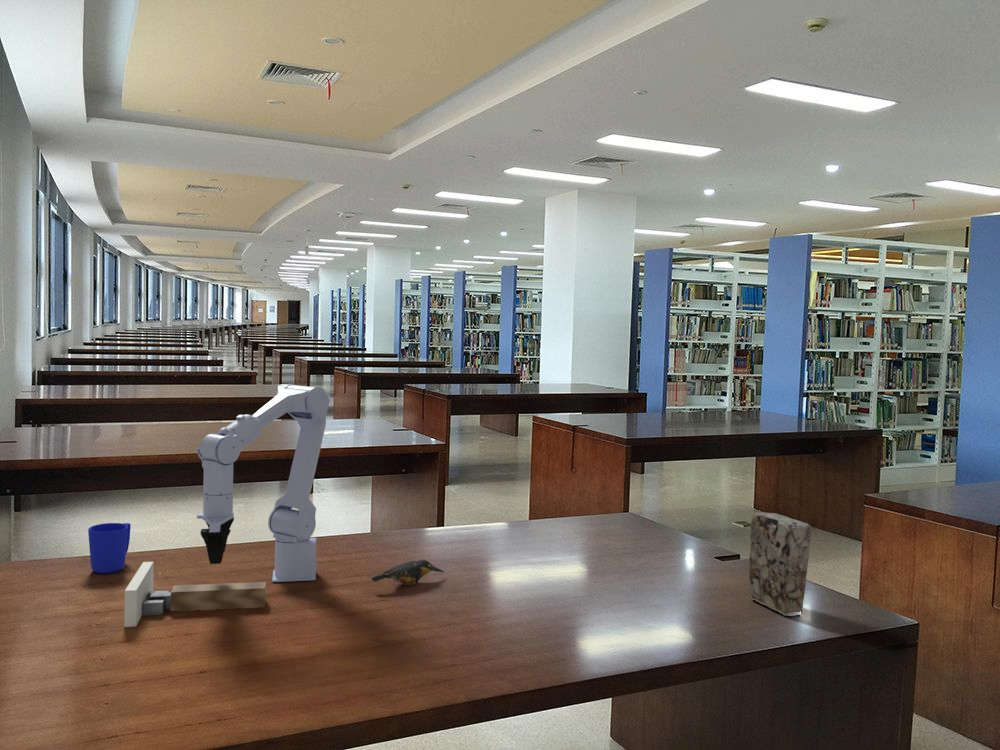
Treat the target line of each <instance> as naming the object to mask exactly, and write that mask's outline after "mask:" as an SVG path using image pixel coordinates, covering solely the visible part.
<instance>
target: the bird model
mask: <svg viewBox="0 0 1000 750" xmlns="http://www.w3.org/2000/svg"><path fill="white" fill-rule="evenodd" d="M431 572H439V573H445V571H444V570H442V569H440V568H439V567H436V566H434V565H433V563H431V562H430V561H428V560H426V559H420V560H412V561H408V562H404V563H401V564H399V565H396V566H394V567H391V568H389V569H387V570H385V571H383V573H379V574H377V575H374V576H372V577H371V578H370V579H369V580H370V581H372V582H373V583H376V582H378V581H381V580H383V579H392V581H393V583H395V582H396V583H398V584H402V585H406V586H412V585H413V584H418V582H419V581H420V579H422V578H423V577H425V576H427V574H430V573H431Z"/></svg>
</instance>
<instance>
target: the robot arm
mask: <svg viewBox="0 0 1000 750" xmlns="http://www.w3.org/2000/svg"><path fill="white" fill-rule="evenodd" d="M329 405H330V398H329V396H328V394H327V392H326V390H325V389H324V388H323V387H321V386H310V385H309V386H308V385H296V384H294V383H291V384H290V383H289V384H286V385H285V386H284V387H283V388H280V389H278V391H277V394H276V395H275V396H274V397H273V398H271V399H270V400H269V401H267V403H266V404H264V405H263V406H262V407H260V408H259V409H258V410H257V411H256V412H255V413H253V414H238V415H237V416H236V417H235V418H236V420H233V421H232V422H231V423H229V424H227V426H225V427H224V426H223V427H221V428H220V429H219V431H218V432H217V433H210V434H207V435H206V436H205V437H203V439H201V441H200V442H199V447H197V448H196V452H197V457H199V459H200V460H201V467H202V468H203V505H202V507H203V509H202V512H201V513H197V514H196V519H198V520H199V519H200V520H201V519H202V520H203V521H205V523H206V525H207V528H201V530H200V536H201V538H202V540H203V542H204V543H205V548H206V551H207V552H206V553H207V557H208V561H209V564H210V565H218V564H222V562H223V557H224V553H225V551H226V547H227V542H228V537H229V535H230V533H231V530H232V529H231V527H232V525H233V522H234V520H235V517H234V510H233V509H234V505H233V503H234V502H233V501H234V463H235V462H236V461H238V459H239V456H240V453H241V452H242V451H243V449H245V448H247V446H249V445H250V444H252V443H253V442H254V441H255V440H257V439H258V438H259V437H260V436H262V434H263V428H264V427H266V426H268V425H269V424H270V423H272V422H274V421H276V420H278V419H279V418H280V417H283V416H284V415H285V414H288V415H289V416H290V417H292V418H293V419H294V420H295V421H296V422H297V424H298V426H299V427H300V429H299V434H298V439H297V443H296V447H295V450H294V456H293V460H292V464H291V467H290V471H289V477H288V482H287V486H286V489H285V490H286V491H285V493H284V495H282V496H281V497H280V498H278V499H277V500H275V504H274V507H273V509H272V511H271V512H270V514H269V517H268V521H267V525H268V529H269V531H270V532H271V533H272V536H273V537H272V538H274V539H275V540H274V541H275V542H274V543H275V544H274V569H273V570H272V579H271V582H273V583H279V582H280V583H282V582H283V583H284V582H287V583H288V582H305V581H307V582H310V581H316V578H317V575H316V574H317V572H316V571H317V570H318V561H317V538H316V537H311V536H312V535H313V534H314V532H315V529H316V524H317V523H316V520H317V519H316V511H317V508H316V506H315V504H314V503H313V502H312V501H311V499H310V497H311V492H312V487H313V483H314V479H315V474H316V471H317V465H318V461H319V458H320V453H321V448H322V443H323V438H324V435H325V430H326V426H327V425H326V424H327V420H326V419H327V414H328V410H329ZM293 508H294V509H293Z"/></svg>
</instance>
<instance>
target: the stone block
mask: <svg viewBox="0 0 1000 750" xmlns="http://www.w3.org/2000/svg"><path fill="white" fill-rule="evenodd" d="M811 528H812V527H811V525H810V524H809V523H807V522H803V521H801V520H798V519H794V518H791V517H788V516H786V515H782V514H779V513H774V512H757V511H756V512H755V513H754V514H753V515H752V517H751V524H750V536H749V537H750V551H749V573H748V575H749V578H748V579H749V580H748V582H749V591H750V597H752V598H754V599H757V600H759V601H761V602H763V603H765V604H767V605H769V606H770V607H772V608H775V609H777V610H779V611H781V612H782V613H785V614H787V613H793V612H800V611H802V612H803V607H804V598H805V592H806V585H807V583H806V582H807V574H808V567H809V566H808V565H809V560H810V559H809V558H810V546H811V538H812V529H811Z"/></svg>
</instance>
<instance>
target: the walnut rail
mask: <svg viewBox="0 0 1000 750" xmlns="http://www.w3.org/2000/svg"><path fill="white" fill-rule="evenodd" d="M266 587H267V582H266V581H257V582H255V581H254V582H253V581H252V582H233V583H232V582H231V583H229V582H228V583H226V582H225V583H210V584H209V583H206V584H182V585H181V584H180V585H179V584H177V585H173V587H172V589H171V591H168V592H156V593H151V595H150V600H164V610H170V611H171V613H173V612H172V611H179V612H195V610H200V611H215V610H216V609H220V610H233V608H234V610H237V609H236V608H240V609H256V608H257V609H259V608H258V607H260V608H266V599H267V597H266V595H267V590H266V589H267V588H266ZM170 611H169V612H170Z"/></svg>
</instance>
